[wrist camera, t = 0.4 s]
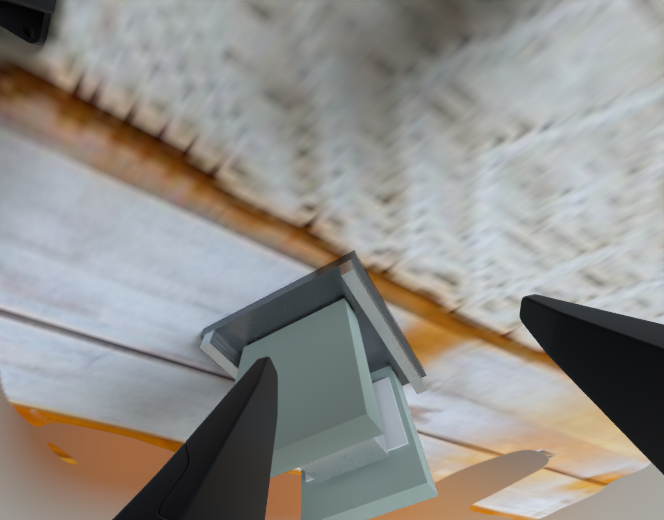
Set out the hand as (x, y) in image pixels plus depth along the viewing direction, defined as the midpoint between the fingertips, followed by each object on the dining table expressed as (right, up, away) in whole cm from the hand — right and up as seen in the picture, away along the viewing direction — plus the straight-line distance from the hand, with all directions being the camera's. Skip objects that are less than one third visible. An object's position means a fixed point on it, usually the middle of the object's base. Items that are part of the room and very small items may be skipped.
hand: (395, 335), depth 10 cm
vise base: (-3, -6, +18) cm, 19 cm away
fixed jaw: (0, -11, +19) cm, 22 cm away
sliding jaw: (-5, -4, +15) cm, 16 cm away
